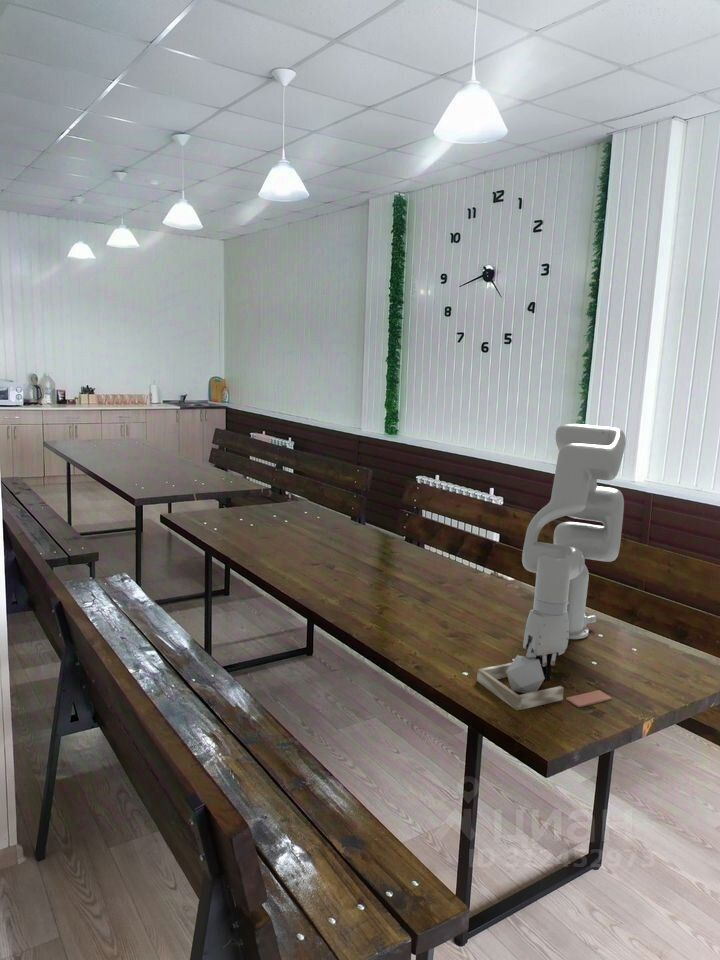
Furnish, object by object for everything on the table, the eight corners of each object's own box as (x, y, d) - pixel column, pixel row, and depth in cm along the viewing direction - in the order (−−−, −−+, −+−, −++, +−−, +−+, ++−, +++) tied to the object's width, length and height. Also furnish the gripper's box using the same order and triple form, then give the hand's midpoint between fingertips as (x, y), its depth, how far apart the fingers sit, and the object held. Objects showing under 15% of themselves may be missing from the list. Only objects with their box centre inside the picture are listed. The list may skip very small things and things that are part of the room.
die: (547, 690, 168) (530, 650, 171) (554, 688, 159) (536, 647, 163) (514, 702, 167) (498, 662, 170) (520, 701, 159) (503, 659, 162)
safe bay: (520, 672, 175) (521, 660, 174) (562, 700, 162) (563, 687, 161) (476, 681, 169) (477, 669, 169) (516, 710, 156) (517, 698, 156)
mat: (599, 691, 167) (599, 690, 167) (611, 699, 163) (611, 697, 163) (566, 699, 162) (566, 697, 162) (578, 707, 159) (578, 705, 159)
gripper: (563, 596, 171) (556, 667, 175) (514, 604, 165) (507, 677, 168) (586, 607, 165) (578, 680, 168) (535, 615, 158) (528, 692, 162)
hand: (543, 679), depth 168 cm, fingers closed
